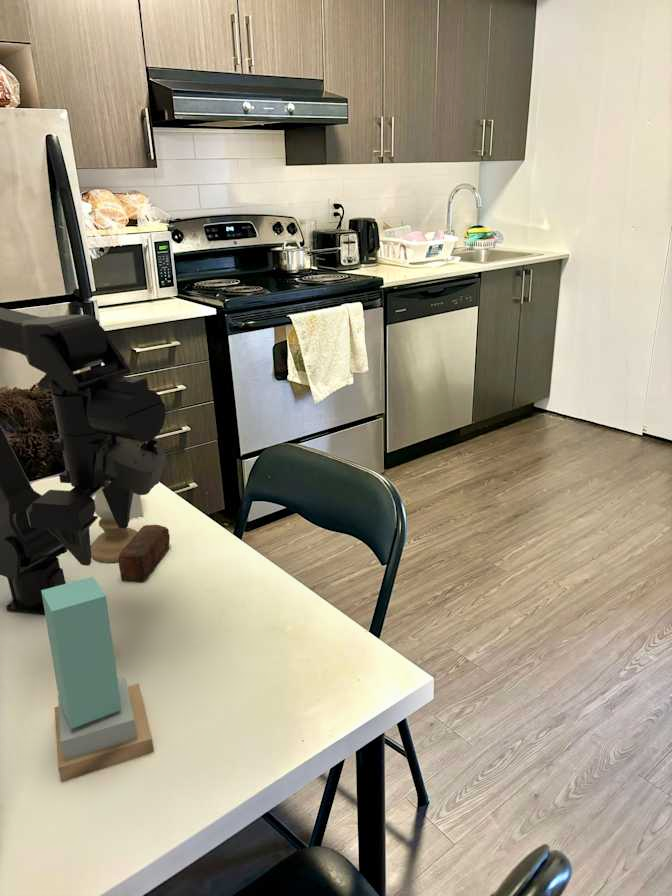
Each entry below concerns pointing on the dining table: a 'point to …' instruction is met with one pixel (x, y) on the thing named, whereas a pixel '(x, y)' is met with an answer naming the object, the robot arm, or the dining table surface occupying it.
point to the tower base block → (110, 754)
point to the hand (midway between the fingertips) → (105, 545)
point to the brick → (143, 553)
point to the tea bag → (136, 507)
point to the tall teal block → (82, 650)
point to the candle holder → (109, 533)
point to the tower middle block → (99, 729)
